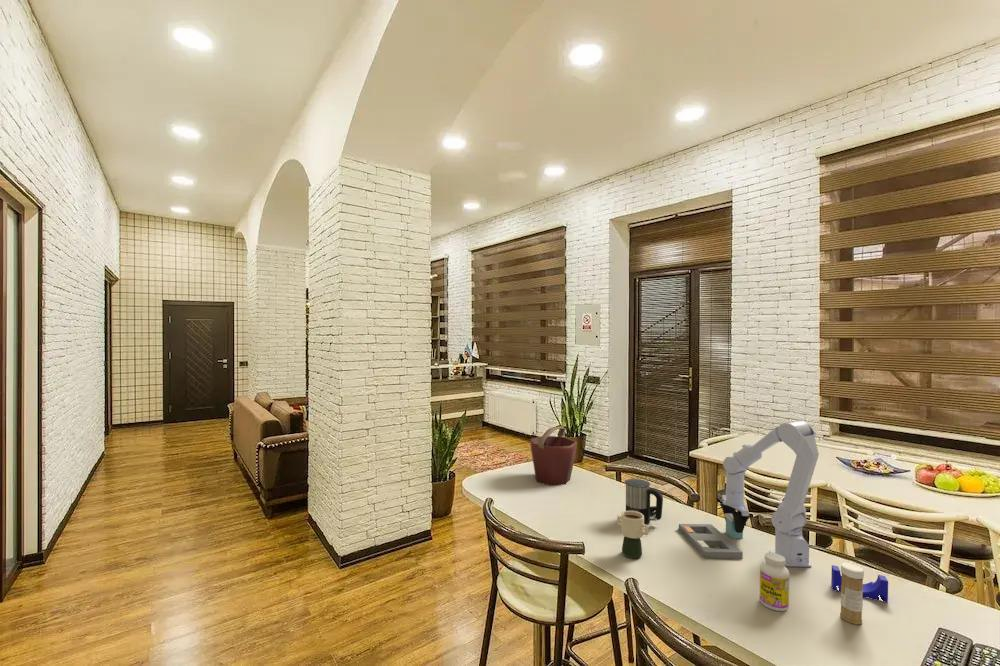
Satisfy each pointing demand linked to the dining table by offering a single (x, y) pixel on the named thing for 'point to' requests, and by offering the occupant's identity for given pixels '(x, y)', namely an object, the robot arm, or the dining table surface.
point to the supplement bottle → (774, 582)
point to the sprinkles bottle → (852, 593)
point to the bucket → (553, 457)
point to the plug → (731, 527)
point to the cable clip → (864, 585)
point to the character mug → (632, 532)
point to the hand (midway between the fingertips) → (734, 528)
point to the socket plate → (710, 541)
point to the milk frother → (643, 499)
